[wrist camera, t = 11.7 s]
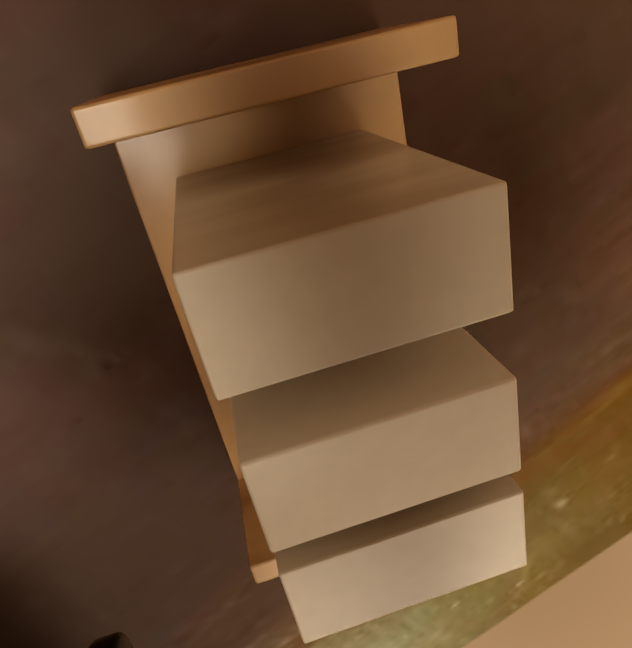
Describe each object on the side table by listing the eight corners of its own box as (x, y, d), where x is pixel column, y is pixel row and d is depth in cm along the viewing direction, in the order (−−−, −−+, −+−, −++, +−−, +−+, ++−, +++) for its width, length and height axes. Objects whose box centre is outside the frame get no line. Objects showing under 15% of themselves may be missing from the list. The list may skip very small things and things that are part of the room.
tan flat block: (382, 251, 18) (518, 377, 11) (393, 317, 19) (522, 470, 12) (214, 299, 17) (238, 465, 10) (236, 364, 18) (271, 555, 11)
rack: (380, 28, 16) (582, -9, 8) (434, 415, 22) (575, 612, 14) (101, 95, 15) (11, 129, 7) (240, 477, 21) (275, 722, 13)
